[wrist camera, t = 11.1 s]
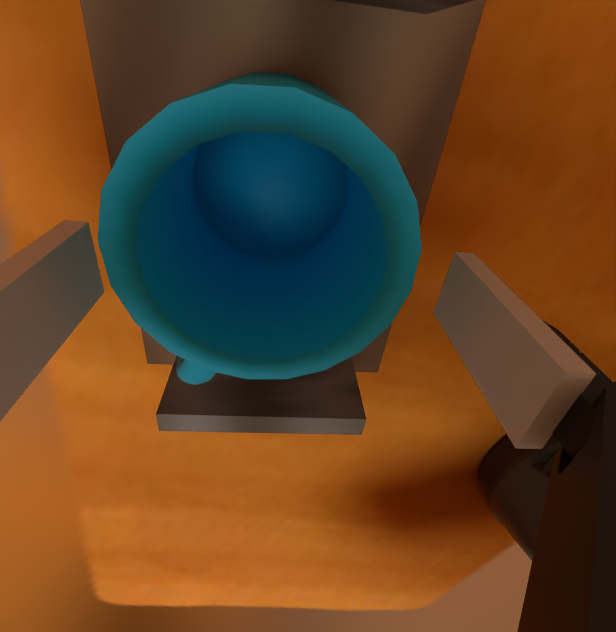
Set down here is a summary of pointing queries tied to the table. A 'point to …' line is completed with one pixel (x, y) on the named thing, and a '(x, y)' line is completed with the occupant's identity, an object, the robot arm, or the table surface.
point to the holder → (311, 66)
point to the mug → (259, 230)
